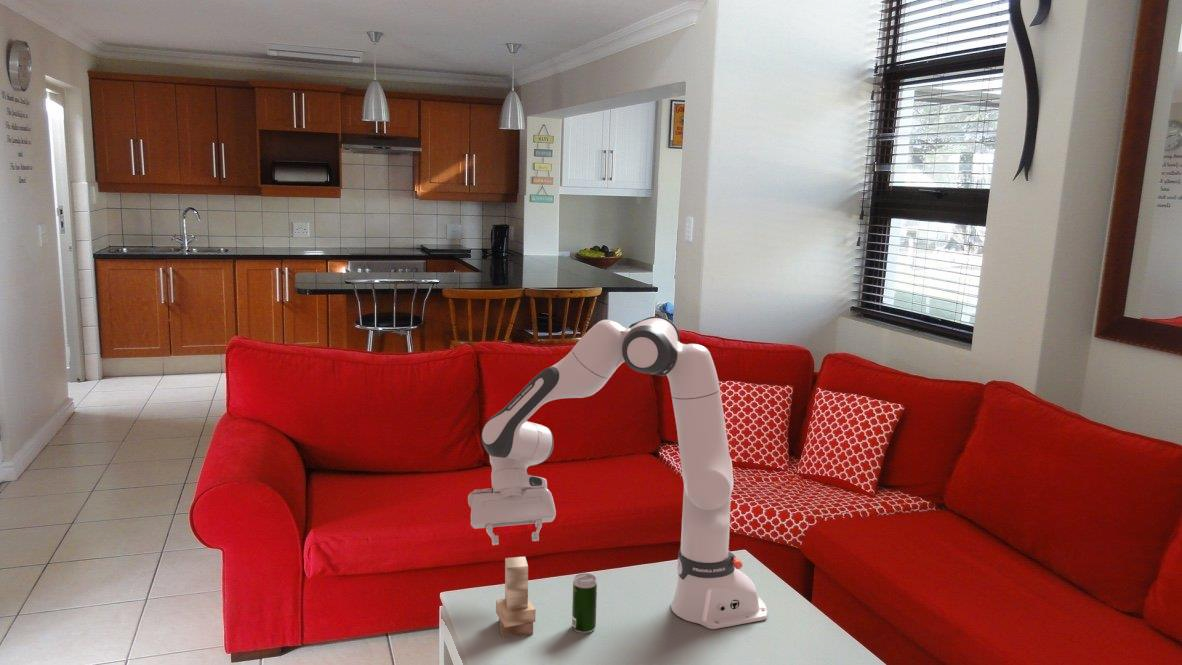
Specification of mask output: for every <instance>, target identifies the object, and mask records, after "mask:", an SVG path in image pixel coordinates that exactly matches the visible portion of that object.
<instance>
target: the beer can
mask: <svg viewBox="0 0 1182 665" xmlns="http://www.w3.org/2000/svg"><path fill="white" fill-rule="evenodd" d="M597 595H598V581H597V577H596V576H595V575H594V574H593V573H586V572H585V573H583V572H582V573H578V574H576V575H574V577H573V581H572V605H571V606H572V607H571V608H572V609H571V610H572V611H571V627H572V630H575V631H574V632H576V633H577V632H578V634H581V633H582V634H584V635H586V634H585V633H587V634H590V633H593V632H594V630H596V626H597V605H598V604H597V603H598V602H597V599H598V596H597ZM592 631H593V632H592ZM582 634H581V635H582Z"/></svg>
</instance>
